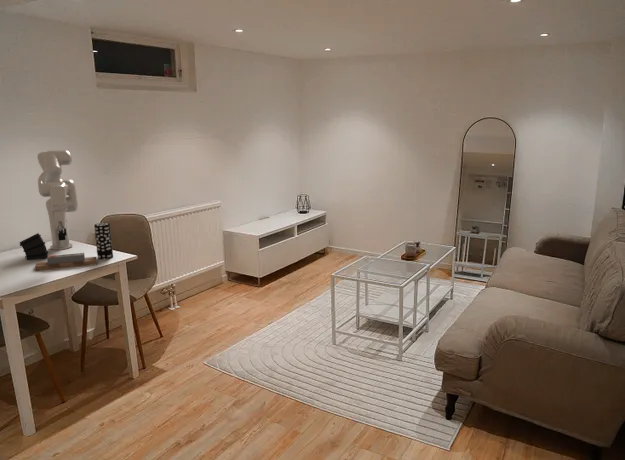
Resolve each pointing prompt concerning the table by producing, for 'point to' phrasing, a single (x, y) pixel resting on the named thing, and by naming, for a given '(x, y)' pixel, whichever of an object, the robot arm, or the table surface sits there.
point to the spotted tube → (103, 241)
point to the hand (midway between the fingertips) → (62, 237)
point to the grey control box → (65, 258)
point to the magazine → (34, 248)
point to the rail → (65, 264)
